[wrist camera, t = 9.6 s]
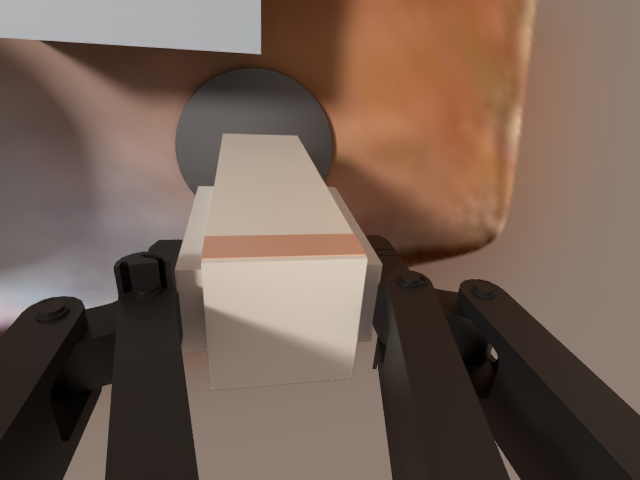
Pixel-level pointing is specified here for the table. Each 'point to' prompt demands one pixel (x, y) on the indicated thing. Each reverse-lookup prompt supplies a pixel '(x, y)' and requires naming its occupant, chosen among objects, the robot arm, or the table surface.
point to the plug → (278, 269)
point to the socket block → (138, 23)
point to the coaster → (248, 120)
